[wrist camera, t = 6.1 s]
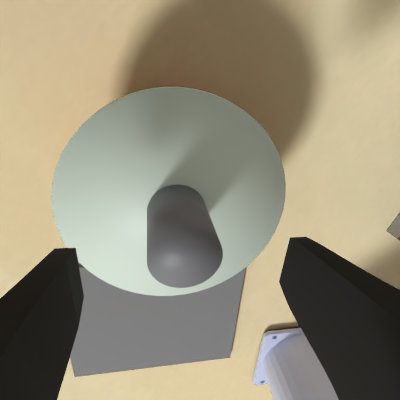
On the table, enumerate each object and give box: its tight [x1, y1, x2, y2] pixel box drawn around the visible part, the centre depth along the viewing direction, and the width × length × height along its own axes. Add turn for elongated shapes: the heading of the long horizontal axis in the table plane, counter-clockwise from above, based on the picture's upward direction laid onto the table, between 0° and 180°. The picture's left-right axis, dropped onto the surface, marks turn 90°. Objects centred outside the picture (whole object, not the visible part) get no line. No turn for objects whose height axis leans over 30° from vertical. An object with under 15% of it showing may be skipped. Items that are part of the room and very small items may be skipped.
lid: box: [51, 87, 286, 296], centre depth 12 cm, size 11×11×4 cm
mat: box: [70, 264, 246, 377], centre depth 23 cm, size 14×12×1 cm
